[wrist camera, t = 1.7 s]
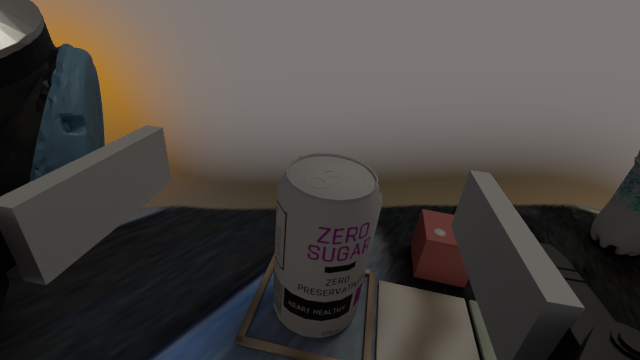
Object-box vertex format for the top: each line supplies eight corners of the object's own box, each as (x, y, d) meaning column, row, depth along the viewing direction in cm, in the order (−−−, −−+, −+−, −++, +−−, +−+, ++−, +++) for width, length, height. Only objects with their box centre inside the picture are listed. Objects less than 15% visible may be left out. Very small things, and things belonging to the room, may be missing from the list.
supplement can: (313, 261, 37) (328, 142, 29) (371, 307, 32) (407, 180, 24) (255, 300, 31) (255, 167, 24) (314, 362, 27) (337, 221, 19)
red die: (413, 277, 36) (427, 238, 33) (410, 243, 41) (422, 207, 38) (464, 287, 36) (482, 249, 33) (455, 252, 40) (470, 216, 38)
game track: (234, 343, 27) (234, 340, 27) (275, 252, 37) (276, 249, 37) (619, 440, 24) (622, 437, 24) (552, 311, 34) (554, 308, 34)
